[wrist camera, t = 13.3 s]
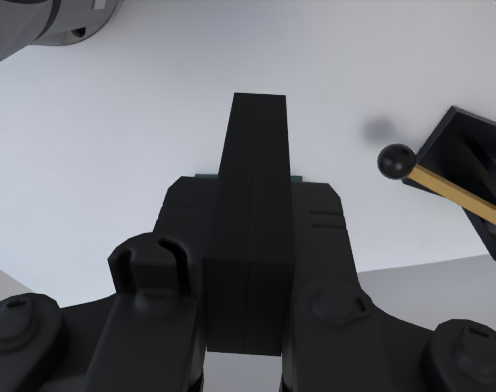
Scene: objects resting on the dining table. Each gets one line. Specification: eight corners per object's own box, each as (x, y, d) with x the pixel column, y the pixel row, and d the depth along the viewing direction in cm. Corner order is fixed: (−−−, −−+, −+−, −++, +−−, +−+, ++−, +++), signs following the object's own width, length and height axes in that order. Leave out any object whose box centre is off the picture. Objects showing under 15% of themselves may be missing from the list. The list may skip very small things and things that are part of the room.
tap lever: (373, 160, 37) (367, 173, 34) (392, 132, 35) (387, 144, 33) (526, 243, 34) (531, 264, 32) (554, 218, 33) (563, 238, 30)
